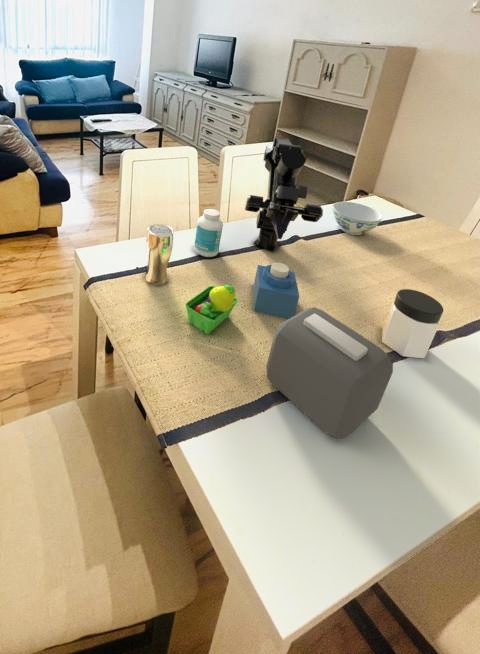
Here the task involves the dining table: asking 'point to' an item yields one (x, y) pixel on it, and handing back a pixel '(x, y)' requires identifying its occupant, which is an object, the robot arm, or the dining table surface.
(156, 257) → the beer glass
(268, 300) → the soap bottle
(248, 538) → the dining table surface
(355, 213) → the chinaware
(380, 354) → the alarm clock
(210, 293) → the fruit basket
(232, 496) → the dining table surface
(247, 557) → the dining table surface
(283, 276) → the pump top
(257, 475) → the dining table surface
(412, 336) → the jar
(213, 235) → the pill bottle
